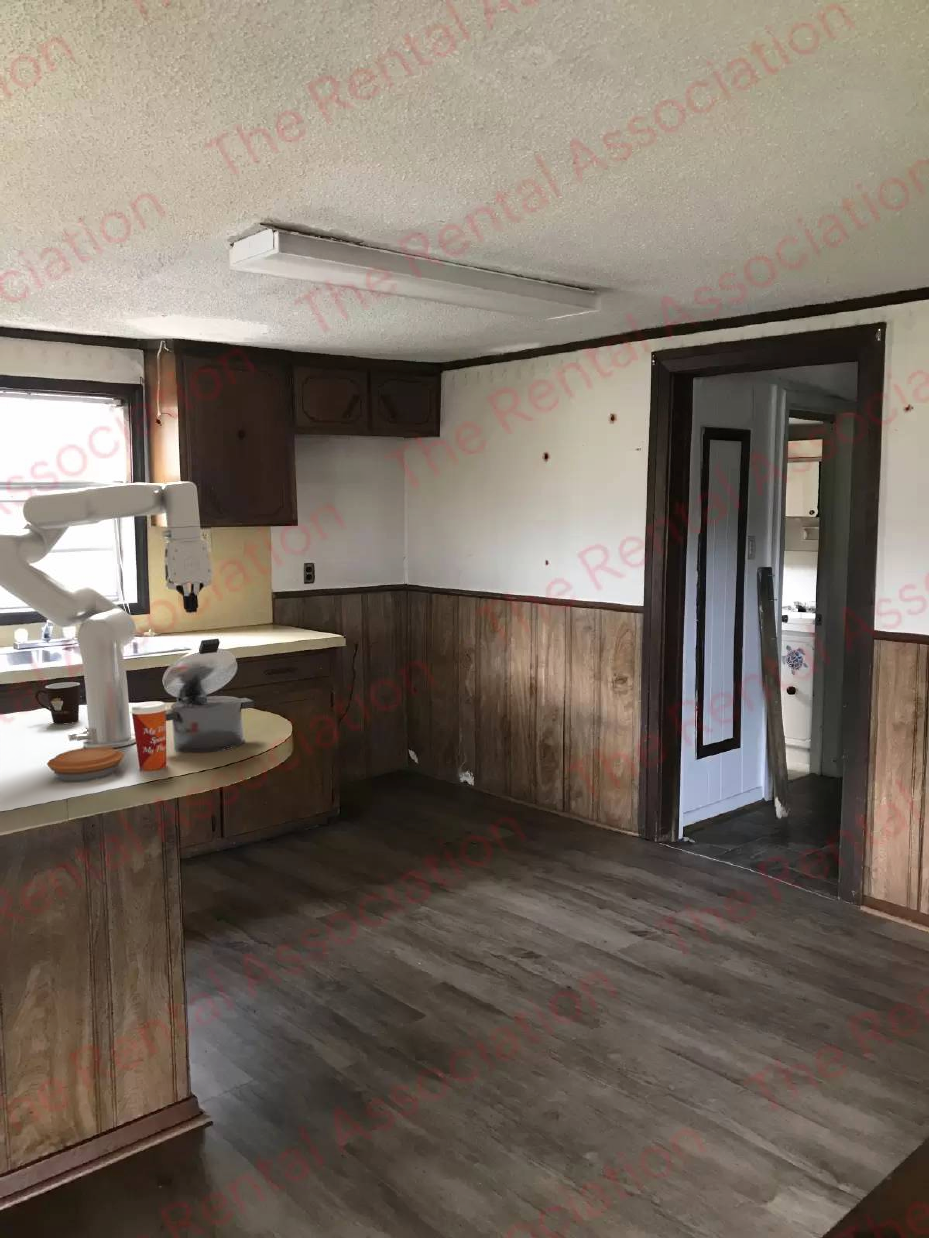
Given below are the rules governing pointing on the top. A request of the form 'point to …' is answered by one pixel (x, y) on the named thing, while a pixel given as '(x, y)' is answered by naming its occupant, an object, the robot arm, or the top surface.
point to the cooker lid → (200, 671)
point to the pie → (86, 764)
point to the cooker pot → (207, 723)
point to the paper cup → (150, 734)
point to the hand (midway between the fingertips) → (191, 611)
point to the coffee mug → (62, 701)
